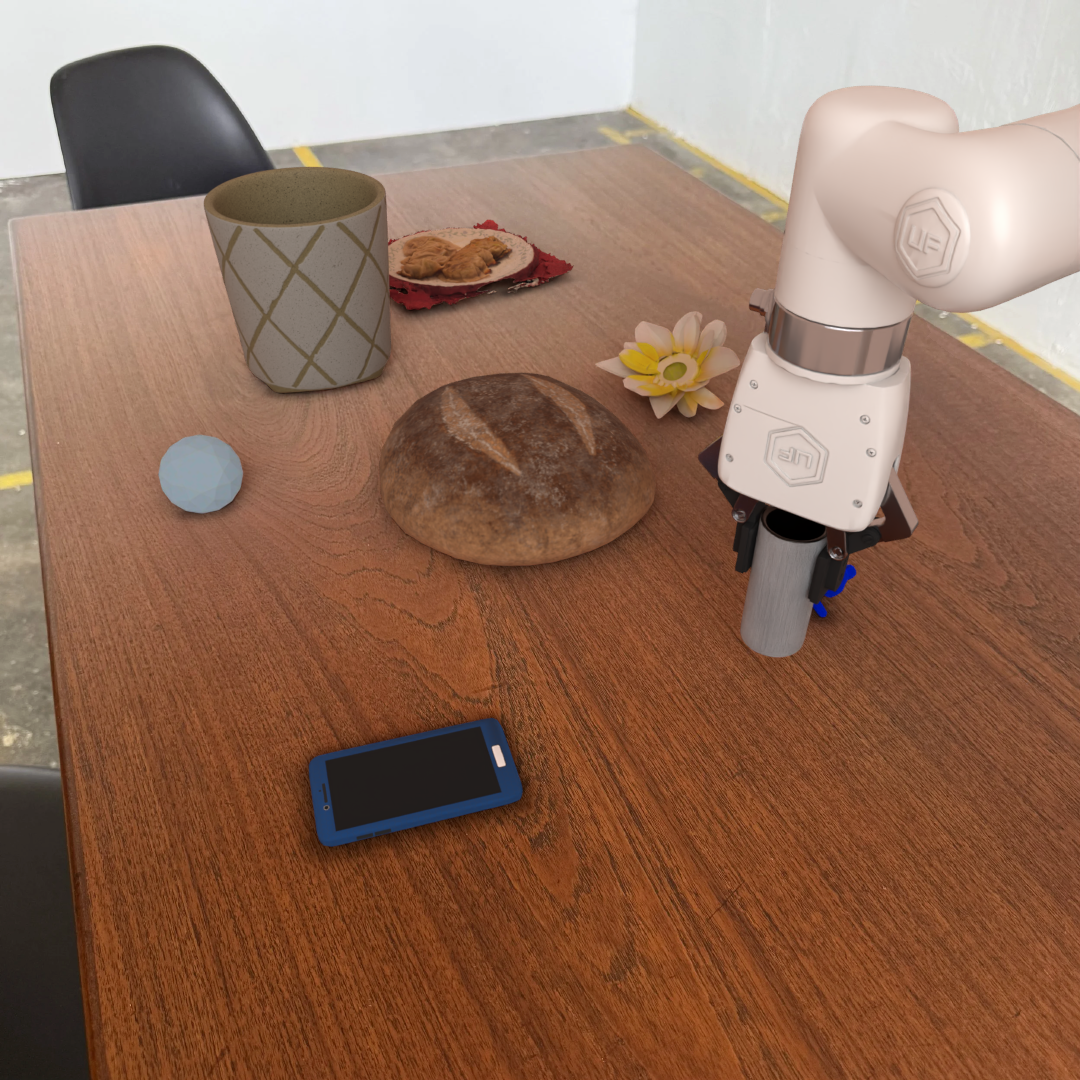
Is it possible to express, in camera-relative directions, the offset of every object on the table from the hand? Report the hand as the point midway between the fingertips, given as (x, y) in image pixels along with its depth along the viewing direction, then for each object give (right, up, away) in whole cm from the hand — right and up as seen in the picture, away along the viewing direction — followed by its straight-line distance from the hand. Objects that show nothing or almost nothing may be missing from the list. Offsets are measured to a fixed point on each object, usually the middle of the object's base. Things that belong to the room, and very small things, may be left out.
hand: (784, 574), depth 66 cm
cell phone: (-25, -15, +2) cm, 29 cm away
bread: (-19, +7, +29) cm, 35 cm away
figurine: (+6, -4, +16) cm, 18 cm away
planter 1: (-43, +23, +50) cm, 70 cm away
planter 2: (0, -5, +4) cm, 6 cm away
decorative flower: (-3, +19, +44) cm, 48 cm away
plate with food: (-29, +41, +72) cm, 88 cm away
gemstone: (-49, +6, +28) cm, 57 cm away
